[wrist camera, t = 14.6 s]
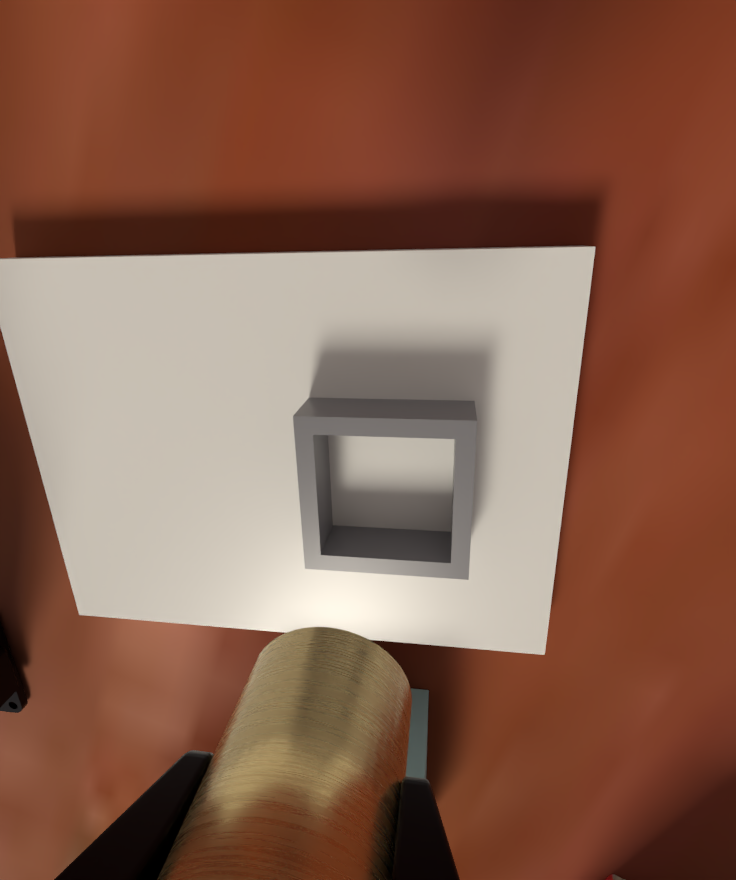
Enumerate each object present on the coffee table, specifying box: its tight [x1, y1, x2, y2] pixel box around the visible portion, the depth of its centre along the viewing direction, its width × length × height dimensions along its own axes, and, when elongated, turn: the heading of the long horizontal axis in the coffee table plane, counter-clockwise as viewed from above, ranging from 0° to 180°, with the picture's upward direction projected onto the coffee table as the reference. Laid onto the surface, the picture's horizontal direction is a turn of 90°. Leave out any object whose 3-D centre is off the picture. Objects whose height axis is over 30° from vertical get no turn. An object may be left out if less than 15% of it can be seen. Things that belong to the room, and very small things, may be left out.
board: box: [0, 245, 596, 655], centre depth 19 cm, size 20×15×4 cm
